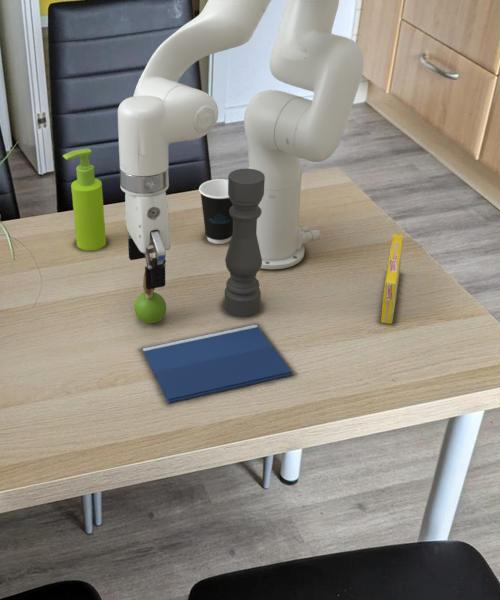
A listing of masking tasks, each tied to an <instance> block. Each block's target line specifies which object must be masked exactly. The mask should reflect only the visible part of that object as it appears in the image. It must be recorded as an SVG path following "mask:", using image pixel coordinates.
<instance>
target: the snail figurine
mask: <svg viewBox="0 0 500 600" xmlns="http://www.w3.org/2000/svg"><path fill="white" fill-rule="evenodd" d="M150 258H151V261H152V259H153V258H154V257H153V256H150ZM142 283H143V284H142V287H143V291H144V292H143V293H141V294H140V295H139V296H138V297H136V299H135V301H134V305H133V307H134V308H133V309H134V313H135V316H136V317H137V318H138V319H139V320H140V321H141V322H143V323H145V324H154V323H155V324H156V323H158V322H160V321H161V320H162V319H163V318H164V316H165V315H166V312H167V302H166V300H165V299H164V297H163V295H161V294H160V293H158V292H155V289H156V288H154V289H147V288H146V286H145V272H144V273H143V279H142Z"/></svg>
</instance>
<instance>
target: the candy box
mask: <svg viewBox="0 0 500 600" xmlns="http://www.w3.org/2000/svg"><path fill="white" fill-rule="evenodd" d="M403 243H404V235H403V234H397V233H393V234H392V237H391V244H390V250H389V255H388V262H387V268H386V274H385V281H384V287H383V296H382V306H381V318H380V322H381V323H382V324H391V325H392V324H393V320H394V314H395V307H396V301H397V296H398V295H397V294H398V287H399V280H400V274H401V273H400V272H401V264H402V254H403V253H402V252H403Z"/></svg>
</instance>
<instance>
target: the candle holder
mask: <svg viewBox="0 0 500 600" xmlns="http://www.w3.org/2000/svg"><path fill="white" fill-rule="evenodd" d="M227 177H228V179H227V180H228V195H229V197H230V201H231V202H232V205H233V206H232V207H231V208H230V209H229V213H230V216H231V217H232V218H233V234H232V236H231V240H230V241H229V245H228V248H227V252H226V255H225V259H224V260H225V267H226V269H227V271H228V272H229V276H230V277H229V278H227V280H226V283H225V286H226V287H225V288H224V295H223V297H224V299H223V300H224V301H223V306H224V307H223V308H224V310H225V311H226V312H227V314H229V315H231V316H233V317H237V318H238V317H239V318H248V317H252V316H255V315H256V314H258V313H259V311H260V309H261V299H262V298H261V297H262V296H261V295H262V292H261V288H260V286H261V285H260V281H259V279H258V278H257V277H256V276H257V274H258V272H260V269H261V268H260V267H261V265H262V258H261V253H260V249H259V244H258V239H257V235H256V231H257V219H258V218H259V217H260V215H261V213H262V211H261V208H260V207H259V206H258V205H259V203H260V202H261V200H262V197H263V196H264V182H265V176H264V174H263V173H262V172H261V171H258V170H255V169H248V168H237V169H234V170H232V171H230V172H229V174H228V176H227Z"/></svg>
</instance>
